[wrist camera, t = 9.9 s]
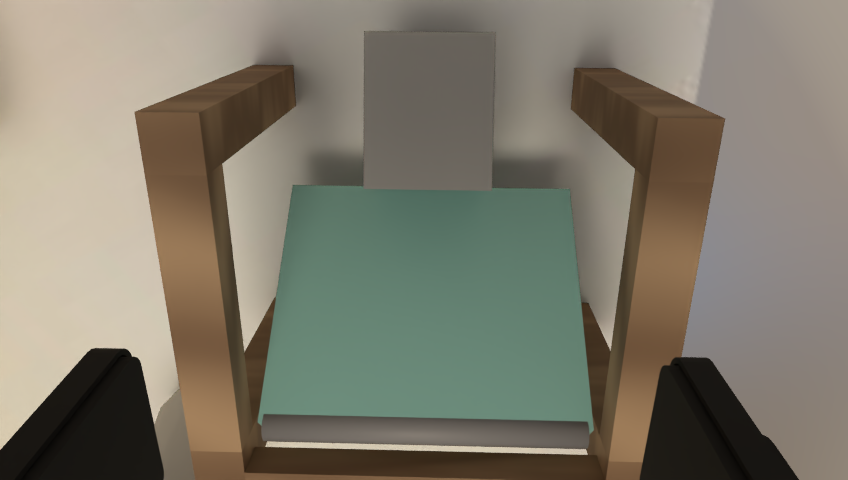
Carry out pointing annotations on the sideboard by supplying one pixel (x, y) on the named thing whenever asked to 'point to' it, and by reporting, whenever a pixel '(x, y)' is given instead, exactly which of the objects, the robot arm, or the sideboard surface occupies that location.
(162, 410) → the salt shaker
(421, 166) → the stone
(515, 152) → the sideboard surface
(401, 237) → the trapdoor
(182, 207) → the frame
